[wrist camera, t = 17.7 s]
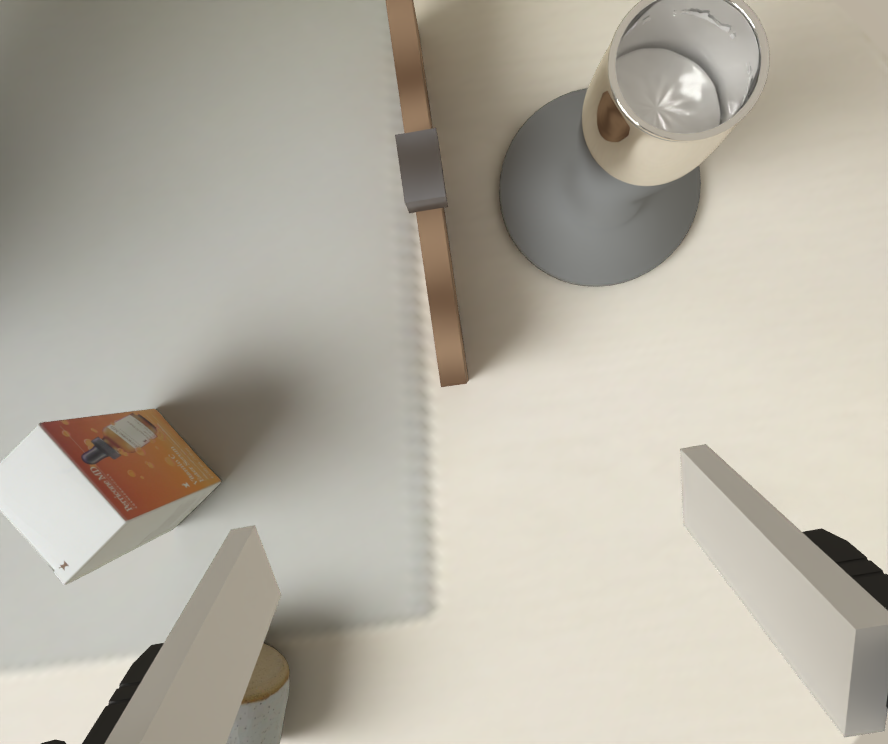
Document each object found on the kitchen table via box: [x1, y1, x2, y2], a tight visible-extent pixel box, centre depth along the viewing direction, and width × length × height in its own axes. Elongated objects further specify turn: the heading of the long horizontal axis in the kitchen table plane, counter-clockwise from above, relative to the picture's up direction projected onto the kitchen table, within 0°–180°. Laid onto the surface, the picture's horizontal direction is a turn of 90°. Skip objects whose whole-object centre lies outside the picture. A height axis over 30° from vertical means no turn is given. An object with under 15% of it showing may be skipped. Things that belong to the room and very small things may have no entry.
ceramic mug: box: [226, 643, 290, 744], centre depth 35 cm, size 11×8×8 cm
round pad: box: [499, 88, 701, 287], centre depth 36 cm, size 14×14×1 cm
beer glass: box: [559, 0, 770, 230], centre depth 29 cm, size 7×7×15 cm
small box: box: [0, 409, 221, 585], centre depth 34 cm, size 8×6×10 cm
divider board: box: [386, 0, 469, 387], centre depth 34 cm, size 26×2×8 cm, turn 9°
